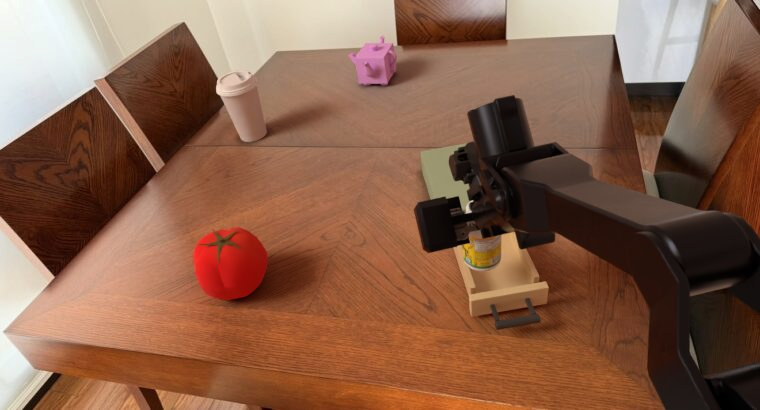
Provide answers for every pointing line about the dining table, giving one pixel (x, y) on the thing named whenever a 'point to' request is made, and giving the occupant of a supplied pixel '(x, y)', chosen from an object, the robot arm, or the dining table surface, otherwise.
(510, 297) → the drawer
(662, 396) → the robot arm
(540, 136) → the dining table surface
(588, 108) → the dining table surface
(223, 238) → the tomato
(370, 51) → the teapot
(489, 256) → the supplement bottle
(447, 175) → the cabinet
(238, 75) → the coffee cup
